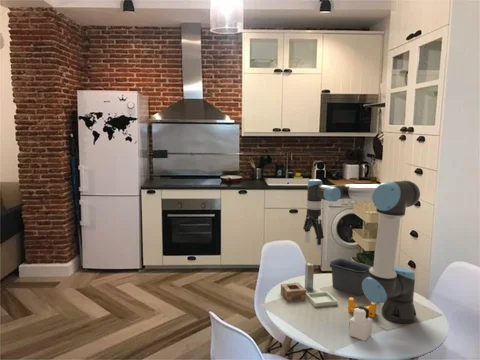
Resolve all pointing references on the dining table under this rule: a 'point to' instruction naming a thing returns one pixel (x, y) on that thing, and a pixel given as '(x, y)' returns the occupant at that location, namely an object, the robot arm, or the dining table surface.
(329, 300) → the tray
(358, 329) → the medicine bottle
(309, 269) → the grey wooden beam
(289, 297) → the hollow wooden square
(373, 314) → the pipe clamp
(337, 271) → the storage bin
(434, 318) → the dining table surface
